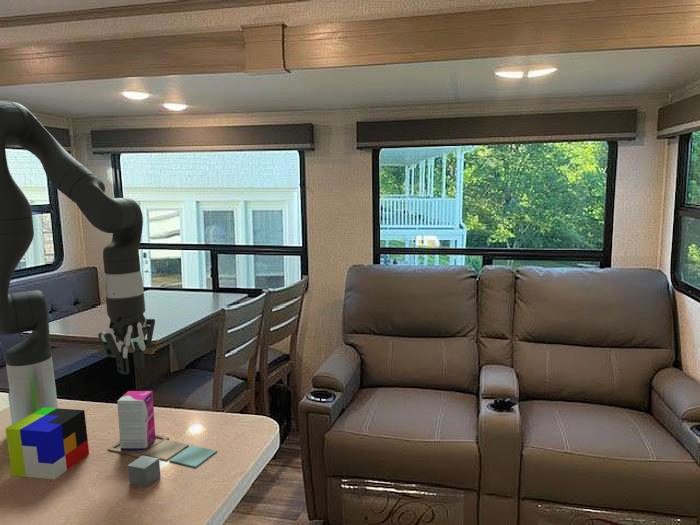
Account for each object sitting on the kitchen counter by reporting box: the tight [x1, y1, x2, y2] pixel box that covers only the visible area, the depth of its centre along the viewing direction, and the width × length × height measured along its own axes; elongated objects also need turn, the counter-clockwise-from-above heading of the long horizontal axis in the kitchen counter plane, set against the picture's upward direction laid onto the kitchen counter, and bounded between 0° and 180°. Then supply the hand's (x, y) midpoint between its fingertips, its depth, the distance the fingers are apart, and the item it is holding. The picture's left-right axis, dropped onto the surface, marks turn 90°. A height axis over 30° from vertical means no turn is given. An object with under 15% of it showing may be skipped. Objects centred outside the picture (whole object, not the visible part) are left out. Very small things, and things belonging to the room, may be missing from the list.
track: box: [107, 433, 218, 469], centre depth 115 cm, size 23×9×1 cm, turn 66°
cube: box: [127, 455, 161, 489], centre depth 103 cm, size 4×4×4 cm
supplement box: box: [116, 390, 156, 452], centre depth 117 cm, size 6×6×12 cm
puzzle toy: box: [5, 407, 90, 480], centre depth 109 cm, size 10×10×10 cm
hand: (132, 370), depth 115 cm, fingers open, 3 cm apart
